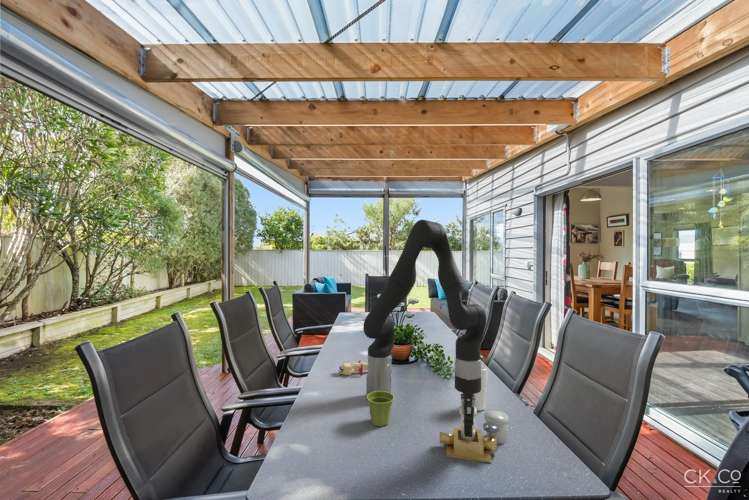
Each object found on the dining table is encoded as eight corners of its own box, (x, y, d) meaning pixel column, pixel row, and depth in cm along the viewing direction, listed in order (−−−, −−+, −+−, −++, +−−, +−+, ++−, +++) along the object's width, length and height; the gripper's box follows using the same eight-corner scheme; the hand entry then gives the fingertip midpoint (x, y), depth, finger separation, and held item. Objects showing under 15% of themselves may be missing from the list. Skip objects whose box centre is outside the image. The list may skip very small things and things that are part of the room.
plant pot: (397, 418, 118) (397, 392, 118) (389, 431, 109) (389, 404, 109) (372, 413, 121) (372, 389, 121) (362, 426, 112) (362, 400, 112)
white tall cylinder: (488, 413, 121) (488, 371, 121) (468, 411, 123) (468, 369, 123) (486, 404, 128) (486, 364, 128) (467, 403, 129) (467, 363, 129)
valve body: (439, 456, 96) (439, 429, 96) (440, 437, 106) (440, 412, 106) (501, 464, 92) (501, 436, 92) (496, 443, 102) (496, 418, 102)
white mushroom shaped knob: (459, 443, 97) (459, 411, 97) (458, 433, 102) (458, 403, 102) (477, 445, 96) (477, 413, 96) (476, 435, 101) (476, 405, 101)
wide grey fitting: (486, 443, 102) (486, 420, 102) (483, 431, 109) (482, 409, 109) (511, 445, 101) (510, 422, 101) (506, 433, 108) (505, 411, 108)
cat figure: (387, 370, 168) (337, 369, 163) (388, 353, 168) (338, 351, 163) (392, 378, 158) (339, 377, 153) (394, 359, 159) (340, 358, 154)
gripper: (454, 364, 107) (454, 418, 107) (455, 381, 93) (454, 444, 93) (479, 366, 105) (479, 421, 105) (483, 383, 91) (483, 447, 91)
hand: (467, 431), depth 99 cm, fingers closed on white mushroom shaped knob, 4 cm apart
